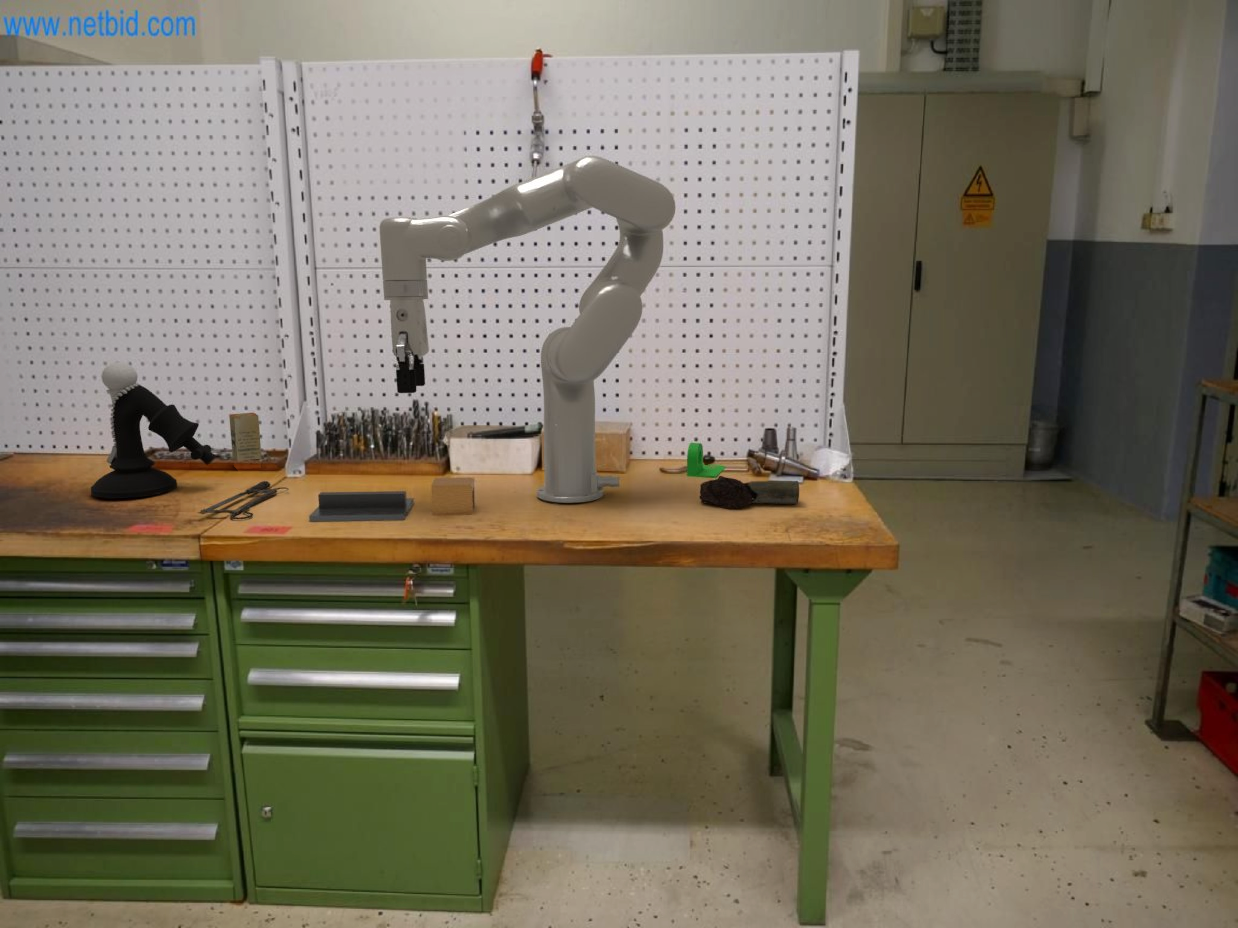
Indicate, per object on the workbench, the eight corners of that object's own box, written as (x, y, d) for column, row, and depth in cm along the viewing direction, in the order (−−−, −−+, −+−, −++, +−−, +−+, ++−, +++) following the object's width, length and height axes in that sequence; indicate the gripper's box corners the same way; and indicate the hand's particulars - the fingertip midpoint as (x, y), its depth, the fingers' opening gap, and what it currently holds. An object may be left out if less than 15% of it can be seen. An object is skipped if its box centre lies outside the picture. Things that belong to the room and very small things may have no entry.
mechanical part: (715, 485, 192) (716, 446, 190) (686, 483, 194) (687, 445, 192) (727, 474, 203) (728, 437, 202) (700, 472, 205) (701, 435, 203)
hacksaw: (262, 486, 188) (261, 479, 188) (310, 485, 186) (309, 478, 186) (191, 521, 165) (190, 513, 164) (245, 520, 163) (244, 512, 163)
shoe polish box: (257, 466, 209) (253, 412, 206) (262, 470, 204) (258, 415, 202) (233, 469, 206) (229, 414, 204) (238, 473, 202) (233, 417, 200)
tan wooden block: (475, 506, 174) (474, 477, 173) (472, 514, 168) (471, 484, 167) (436, 507, 173) (435, 477, 172) (432, 515, 167) (431, 485, 166)
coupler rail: (413, 503, 176) (412, 484, 175) (403, 519, 164) (403, 500, 163) (325, 504, 175) (324, 486, 174) (309, 521, 163) (308, 501, 162)
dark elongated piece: (796, 501, 175) (795, 471, 174) (800, 509, 168) (800, 478, 167) (699, 503, 176) (699, 473, 175) (700, 511, 169) (700, 480, 168)
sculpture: (114, 481, 194) (101, 358, 189) (232, 480, 195) (222, 358, 190) (75, 498, 179) (60, 366, 174) (202, 498, 180) (191, 366, 175)
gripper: (419, 292, 156) (425, 395, 160) (434, 289, 173) (439, 383, 177) (373, 292, 156) (380, 396, 159) (393, 290, 173) (399, 384, 176)
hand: (411, 389), depth 168 cm, fingers open, 9 cm apart
